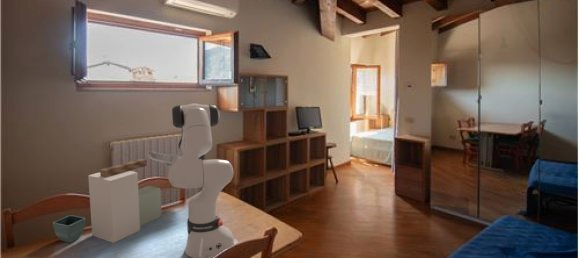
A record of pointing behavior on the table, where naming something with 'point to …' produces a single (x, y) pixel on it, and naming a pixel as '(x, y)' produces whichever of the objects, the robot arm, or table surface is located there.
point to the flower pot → (69, 228)
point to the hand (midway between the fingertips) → (155, 154)
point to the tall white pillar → (114, 205)
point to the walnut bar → (123, 167)
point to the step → (149, 204)
